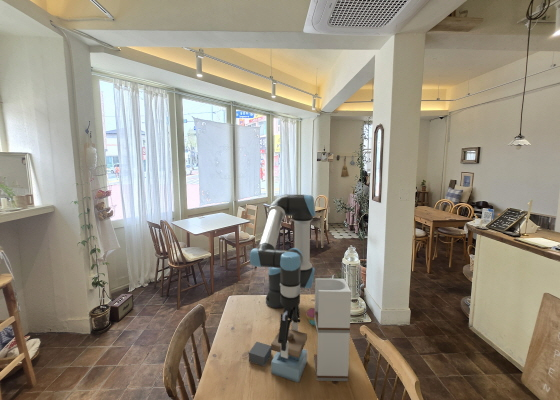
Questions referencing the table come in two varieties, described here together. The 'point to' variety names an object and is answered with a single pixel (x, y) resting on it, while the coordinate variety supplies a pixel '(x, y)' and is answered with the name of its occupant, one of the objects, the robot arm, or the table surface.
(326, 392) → the table surface
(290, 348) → the lid
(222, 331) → the table surface
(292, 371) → the dish
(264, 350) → the block
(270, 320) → the table surface
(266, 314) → the table surface
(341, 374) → the white stacked pedestal
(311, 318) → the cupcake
